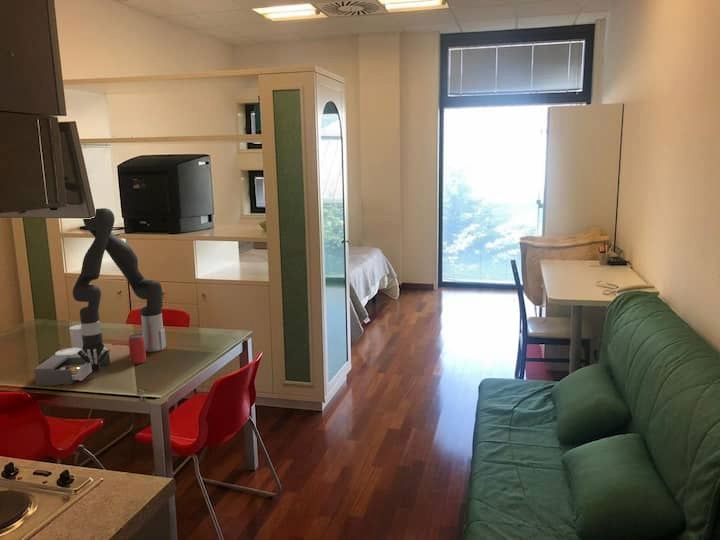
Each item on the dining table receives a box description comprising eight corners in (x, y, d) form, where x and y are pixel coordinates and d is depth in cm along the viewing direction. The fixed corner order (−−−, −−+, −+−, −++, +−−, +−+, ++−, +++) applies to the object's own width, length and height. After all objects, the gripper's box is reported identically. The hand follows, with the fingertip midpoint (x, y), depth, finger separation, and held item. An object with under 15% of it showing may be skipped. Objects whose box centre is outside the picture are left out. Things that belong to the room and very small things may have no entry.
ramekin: (64, 358, 270) (62, 347, 269) (88, 358, 269) (87, 347, 268) (51, 367, 259) (49, 355, 258) (76, 367, 258) (74, 355, 257)
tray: (97, 366, 254) (96, 356, 253) (81, 380, 239) (80, 369, 238) (63, 367, 254) (62, 357, 253) (46, 381, 239) (44, 371, 238)
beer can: (131, 365, 259) (128, 339, 256) (129, 360, 264) (127, 335, 262) (147, 362, 262) (144, 336, 259) (145, 358, 267) (142, 332, 265)
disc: (84, 369, 249) (84, 365, 248) (75, 375, 243) (75, 370, 242) (71, 369, 250) (70, 364, 249) (62, 374, 244) (61, 369, 243)
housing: (88, 369, 255) (86, 354, 253) (71, 384, 239) (69, 367, 238) (55, 370, 254) (53, 355, 253) (36, 385, 238) (34, 369, 237)
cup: (84, 354, 274) (81, 329, 272) (68, 353, 276) (65, 329, 273) (95, 348, 282) (92, 324, 279) (80, 347, 283) (77, 323, 281)
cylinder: (112, 362, 263) (110, 351, 262) (108, 365, 259) (107, 355, 258) (102, 362, 263) (100, 352, 262) (98, 366, 258) (96, 355, 257)
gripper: (71, 335, 239) (76, 375, 243) (104, 334, 240) (109, 374, 243) (78, 329, 246) (83, 369, 250) (111, 328, 247) (115, 367, 250)
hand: (96, 371), depth 246 cm, fingers closed
